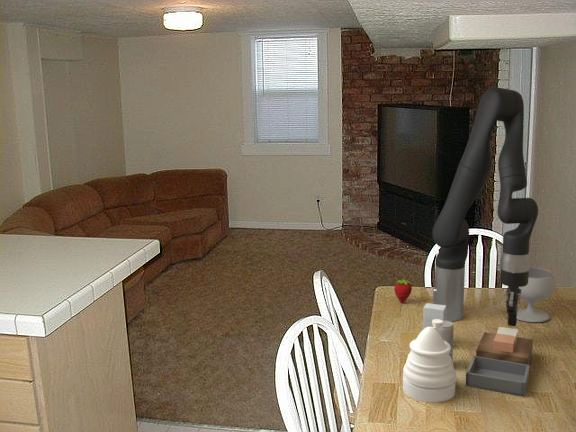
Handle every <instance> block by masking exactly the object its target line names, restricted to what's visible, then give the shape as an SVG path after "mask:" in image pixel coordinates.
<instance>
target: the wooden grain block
mask: <svg viewBox="0 0 576 432" xmlns="http://www.w3.org/2000/svg"><path fill="white" fill-rule="evenodd" d="M496 334H497V333H492V332H486V331H485V332H484V333H483V335H482V336H481V339H480V341H479V344H478V345H477V347H476V350H475V351H476V353H475V356H479V357H485V358H491V359H497V360H503V361H509V362H515V363H521V364H527V365H530V366H531V363H532V358H533V346H534V345H533V344H534V339H531V338H525V337H519V336H518V338H517V341H516V344H515V347H514V351H513V353H511V352H505V351H499V350H493V341H494V338H495V336H496Z"/></svg>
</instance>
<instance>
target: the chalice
mask: <svg viewBox="0 0 576 432" xmlns="http://www.w3.org/2000/svg"><path fill="white" fill-rule="evenodd" d="M519 289H522V292H521V296H520V299H522V300H524V301H525V302H526V307H518V312H517V320H518V321H521V322H528V323H543V322H548V321H550V319H551V316H550V314H549V313H547V312H545V311H543V310H540V309H536V308H534V306H535V304H536V303H537V302H538V301H540V300H545V299H547V298H549V297H551V296H552V295H553V294H554V293H555V291H556V279H555V277H554V275H553V273H552V271H550V270H548V269H545V268H542V267H536V266H535V267H534V266H529V278H528V284H527V285H526V286H524V287H519Z"/></svg>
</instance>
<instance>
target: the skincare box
mask: <svg viewBox="0 0 576 432" xmlns="http://www.w3.org/2000/svg"><path fill="white" fill-rule="evenodd" d="M446 310H447V306H446V305H438V304H433V303H429V302H428V303H427V302H426V303H425V305H424V306H423V310H422V311H423V312H422V314H423V317H422V318H423V319H422V320H423V321H422V322H423V323H422V330H424V329H425V328H426V327H433V324H432V320H434V319H440V320H446Z"/></svg>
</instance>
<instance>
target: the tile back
mask: <svg viewBox="0 0 576 432" xmlns="http://www.w3.org/2000/svg"><path fill="white" fill-rule="evenodd" d="M496 334H500V335H507V336H513V337H516V339H515V344H516V341H517V338H518V337H519V336H518V335H519V329H518V328H511V327H502V326H498V329H497V332H496Z"/></svg>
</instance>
